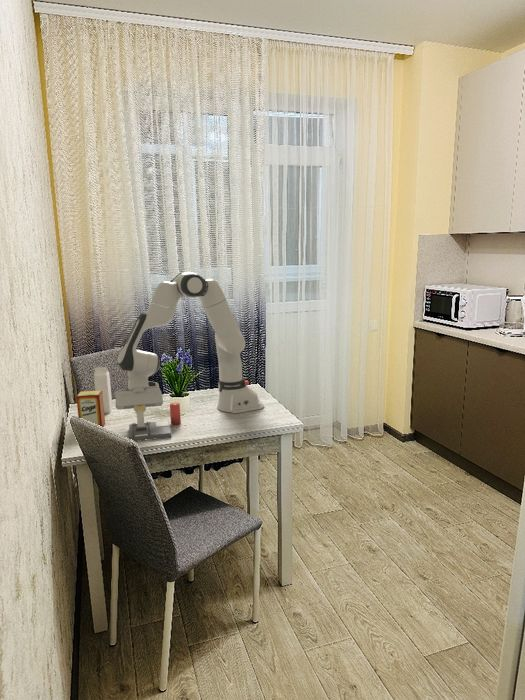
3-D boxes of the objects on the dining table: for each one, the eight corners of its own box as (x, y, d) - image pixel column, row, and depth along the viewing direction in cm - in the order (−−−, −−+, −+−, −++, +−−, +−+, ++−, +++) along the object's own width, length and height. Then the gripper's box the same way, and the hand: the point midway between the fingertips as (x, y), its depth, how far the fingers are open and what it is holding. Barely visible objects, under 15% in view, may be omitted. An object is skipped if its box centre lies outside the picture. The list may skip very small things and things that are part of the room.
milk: (110, 413, 237) (106, 368, 232) (97, 413, 236) (93, 369, 231) (112, 409, 242) (108, 365, 237) (100, 409, 242) (96, 365, 237)
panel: (169, 424, 220) (168, 419, 220) (171, 437, 206) (170, 431, 205) (129, 428, 216) (129, 422, 216) (129, 441, 202) (128, 435, 201)
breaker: (146, 424, 214) (144, 405, 212) (146, 429, 209) (145, 408, 207) (135, 425, 213) (134, 406, 211) (135, 430, 208) (134, 409, 206)
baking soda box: (79, 430, 216) (76, 395, 212) (83, 424, 222) (80, 390, 218) (102, 429, 217) (98, 394, 213) (105, 423, 223) (102, 389, 219)
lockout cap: (180, 421, 224) (179, 402, 222) (181, 424, 220) (180, 405, 218) (170, 422, 223) (169, 403, 221) (171, 425, 219) (170, 406, 217)
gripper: (113, 386, 215) (114, 415, 208) (161, 382, 220) (163, 410, 213) (115, 393, 221) (115, 421, 213) (161, 389, 225) (164, 416, 218)
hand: (140, 416), depth 213 cm, fingers closed
